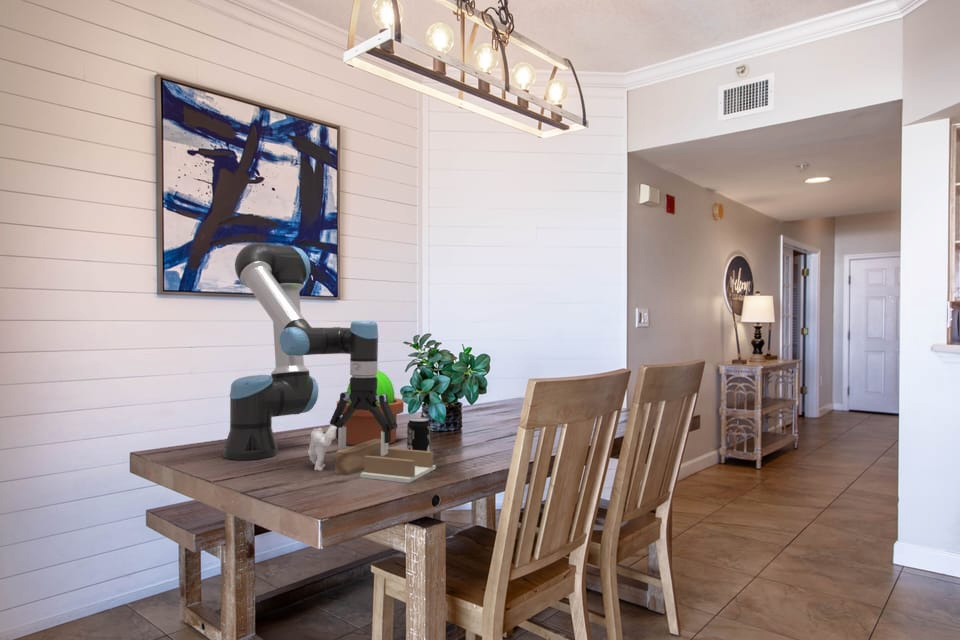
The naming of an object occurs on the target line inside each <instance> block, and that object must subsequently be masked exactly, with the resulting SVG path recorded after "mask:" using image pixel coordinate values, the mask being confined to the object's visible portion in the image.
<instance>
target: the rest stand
mask: <svg viewBox="0 0 960 640" xmlns="http://www.w3.org/2000/svg"><path fill="white" fill-rule="evenodd" d="M436 469H437V465H436V464H434V451H431V450H430V451H419V450H409V449H407V448H396V447H388V454H386V455H385V457H378V456H368V455H367V456H364V469H363V471H362V472H360V476H359V477H360V478H362V479H371V480H380V481H388V482H396V483H397V482H398V483H406V484H409V483H411V482H414V481H415V480H417V479H419V478H421V477H423V476H425V475H426V474H428V473H430V472H432V471H434V470H436Z"/></svg>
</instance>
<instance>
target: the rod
mask: <svg viewBox="0 0 960 640" xmlns="http://www.w3.org/2000/svg"><path fill="white" fill-rule="evenodd" d="M367 455H368V456H378V457H385V455H384V456H381V439H373V440H370V441H367V442H364V443H361V444H358V445H351V446H349V447H346V449H343V450H340V451H338V450H337V451H335V474H336V475H337V474H338V475H345V476H350V475H353V474H355V473H357V472H360V471H363V470H364V456H367Z"/></svg>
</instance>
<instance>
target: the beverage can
mask: <svg viewBox="0 0 960 640" xmlns="http://www.w3.org/2000/svg"><path fill="white" fill-rule="evenodd" d="M429 420H430V419H429V418H427V417H411V418H409V419H408V423H407V428H406V429H407V432H406V436H407V437H406V439H407V441H406V442H407V444H406V449H409V450H419V451H430V452H431V423H430V421H429Z"/></svg>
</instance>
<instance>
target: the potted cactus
mask: <svg viewBox="0 0 960 640" xmlns="http://www.w3.org/2000/svg"><path fill="white" fill-rule="evenodd" d="M375 377H377V395H384V394H386V395H387V398H388V404H389V406H390V409H391V411H392V413H393V416H394V418H395V421H396V422H397V415H400V414H403V413H404V405H405V404H404V402H405V401H404V400H403V399H401V398H398V397H395V384H394V383H393V381H392V380H391V379H390V377H388V374H386V373H385V372H383V371H381V370H379V368H378V374H377V375H375ZM346 392H348V393H349V394H350V393H351V390H350V382H349V383H348V385H347V388H346ZM339 401H340V399H339V400H337V401H336V406H337V405H338V403H339ZM351 403H352V402H351V400H350V399H349V400H348V402H347V404H346V406H345V408H344V411H343V413H342V415H343V414H344V413H345V411H346V410H347V409H348V406H349V405H350V404H351ZM376 404H377V405H378V407H379V410H380V411H381V413H382V414H383V415H384V413H383V411H382V409H381V406H380V403H379V402H378V400H377V401H376ZM342 415H341V416H342ZM384 417H385V416H384ZM343 427H346V445H348V446H349V445H350V446H355V445H358V444H361V443H364V442H367V441H370V440H373V439H381V431H383V428H382V427H381V426H380V424H379V423H378V421H377V420H376V418H375V417H374V415H373V414H372V413H371V412H370V411H369V410H362V409H361V410H357V409H356V410H355V411H354V413H353V414H352V415H351V416H350V418H349V419H348V420H347V421H346V423H345V424H344V426H343ZM396 440H397V428H395V429H392V430H391V441H390V442H389V443H388V445H390V444H392V443H393V444H394V443H395V442H396Z"/></svg>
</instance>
